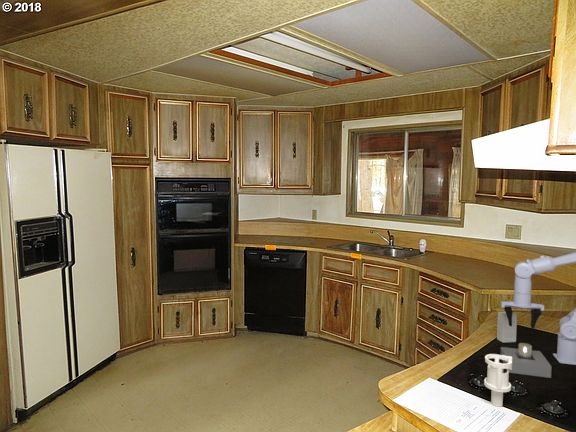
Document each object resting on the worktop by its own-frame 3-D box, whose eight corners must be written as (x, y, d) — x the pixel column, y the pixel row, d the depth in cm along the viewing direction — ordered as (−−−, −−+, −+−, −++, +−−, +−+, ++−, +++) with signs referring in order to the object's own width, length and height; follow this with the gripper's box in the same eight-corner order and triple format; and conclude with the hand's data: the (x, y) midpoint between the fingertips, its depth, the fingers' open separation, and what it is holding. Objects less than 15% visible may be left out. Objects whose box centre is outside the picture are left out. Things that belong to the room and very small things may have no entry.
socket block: (539, 361, 146) (540, 351, 146) (550, 377, 134) (551, 366, 133) (500, 357, 150) (500, 346, 150) (507, 372, 138) (508, 361, 137)
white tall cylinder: (512, 412, 113) (514, 362, 112) (484, 407, 116) (486, 358, 115) (508, 400, 120) (510, 352, 119) (482, 395, 122) (484, 348, 121)
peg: (528, 362, 143) (529, 343, 143) (532, 367, 140) (533, 347, 139) (516, 361, 144) (517, 342, 144) (519, 365, 141) (520, 346, 140)
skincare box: (509, 338, 168) (510, 310, 168) (516, 342, 164) (517, 314, 163) (496, 339, 168) (497, 311, 167) (502, 343, 163) (503, 314, 163)
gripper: (540, 291, 155) (539, 325, 156) (499, 288, 160) (498, 321, 161) (546, 296, 149) (544, 331, 150) (503, 293, 153) (502, 327, 154)
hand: (521, 326), depth 155 cm, fingers open, 7 cm apart
